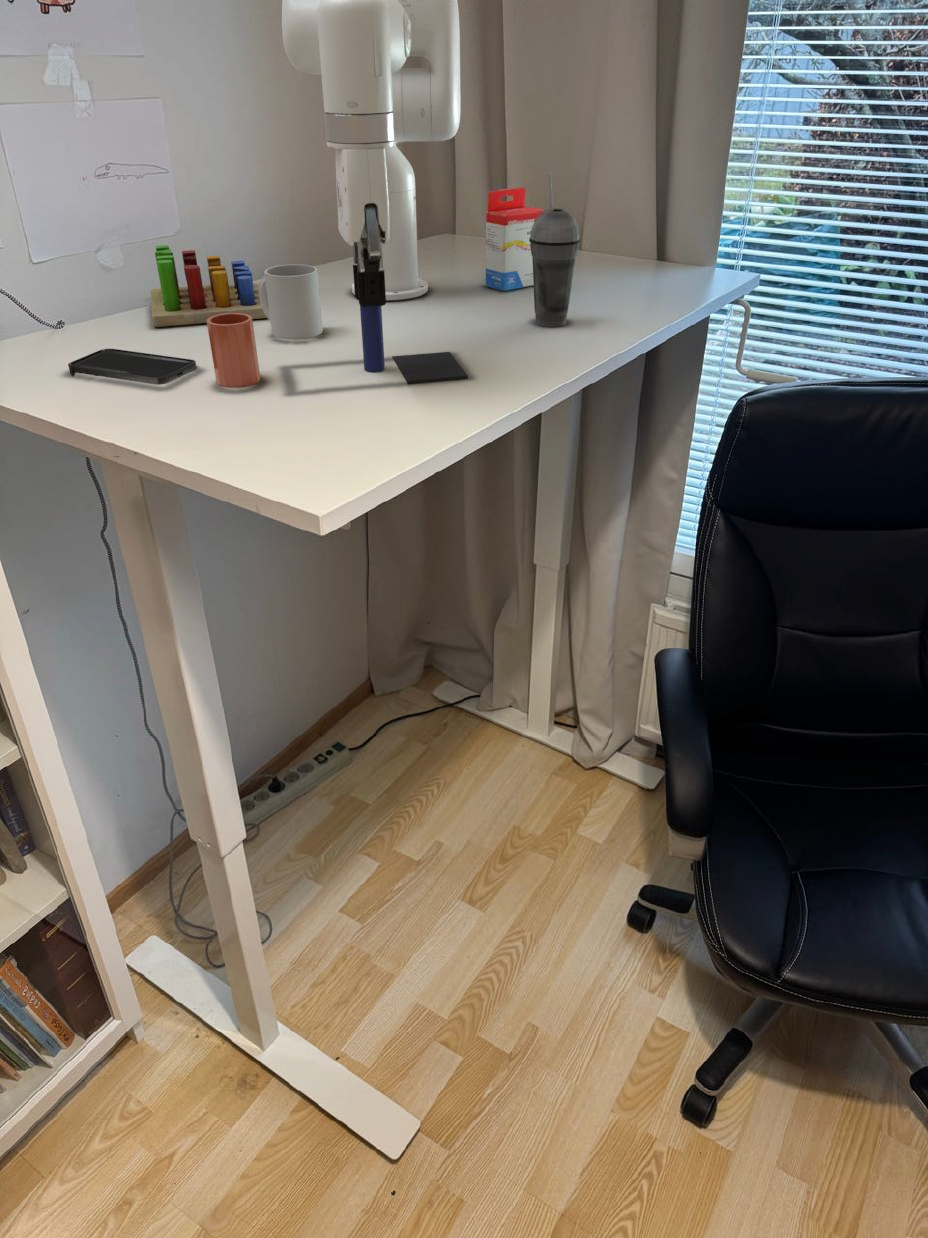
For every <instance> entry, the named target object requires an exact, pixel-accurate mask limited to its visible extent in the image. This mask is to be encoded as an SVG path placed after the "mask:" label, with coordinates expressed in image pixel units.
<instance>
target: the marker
mask: <svg viewBox="0 0 928 1238" xmlns="http://www.w3.org/2000/svg"><path fill="white" fill-rule="evenodd" d="M356 265H357V269H358V271H359V260H358V257H357V264H356ZM359 313H360V326H361V341H362V357H363V370H364V371H365V372H367V373H372V374H373V373H374V374H375V373H382V372H384V371H385V369H386V368H385V349H384V347H385V345H384V331H383V328H384V327H383V311H382V306H370V307H361V306H360V305H359Z"/></svg>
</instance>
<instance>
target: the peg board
mask: <svg viewBox="0 0 928 1238" xmlns="http://www.w3.org/2000/svg"><path fill="white" fill-rule="evenodd" d="M154 257H155V261H156V267H157V274H158V277H159V284H160V288H153V289H151V290H150V300H151V301H150V305H151V308H150V309H151V318H152V324H153V326H154V327H157V328H161V327H170V326H171V327H172V326H182V325H183V326H185V325H197V324H207V319H208V318H210V317H212V316H215V315H219V314H225V313H243V314H248V315H250V316H252V320H255V319H256V320H257V319H268V318H267V317H266V315H265V314H264V311H263V309H262V306H261V302H260V296H259V286H260V282H261V281H253V274H252V271H250V266H249V265H246V264H245V261H244V260H232V261H230V262H231V270H232V276H233V283H231V282H230V283H229V277H228V272H227V268H226V266H225V265H222V261H221V256H220V255H207V256H206V261H207V270H208V277H209V284H205V285H203V280H202V273H201V268H200V265H198V261H197V255H196V250H195V249H194V250H192V249H190V250H182V251H181V257H182V262H183V270H184V276H185V281H186V286H179V280H178V274H177V268H176V261H175V256H174V253H173V251H172V249H170V246H169V244H163V245H161V244H160V245H156V246H155V251H154Z"/></svg>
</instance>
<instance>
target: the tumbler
mask: <svg viewBox="0 0 928 1238" xmlns="http://www.w3.org/2000/svg"><path fill="white" fill-rule="evenodd" d="M253 321H254V319H252V316H250V315H248V314H243V313H225V314H219V315H215V316H212V317H210V318H208V319H207V323H206V326H207V333H208V339H209V345H210V350H211V356H212V363H213V369H214V375H215V381H216V384H217V385H219V387H220V386H221V387H224V388H231V389H232V388H237V389H238V388H246V387H249V386H253V385H256V384H258V383H259V382H260V381H261V371H260V365H259V358H258V350H257V349H258V348H257V343H256V337H255V327H254V322H253Z"/></svg>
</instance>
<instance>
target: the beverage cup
mask: <svg viewBox="0 0 928 1238" xmlns="http://www.w3.org/2000/svg"><path fill="white" fill-rule="evenodd" d="M547 191H548V207H549V208H548V209H546V210H545V211H543V213H542V214H541V215H540V216H538V218H537V219H536V220H535V222H534V224H533V227H532V230H531V236H530V239H529V242H530V247H531V254H532V258H533V282H534V285H533V304H534V306H533V307H534V317H535V325H537V326H540V327H545V328H558V327H562V326H565V325H566V324H567V317H568V313H569V307H570V299H571V293H572V287H573V286H572V285H573V278H574V271H575V265H576V258H577V256H578V252H579V248H580V243H581V238H580V237H581V236H580V229H579V225H578V222H577V220H576V218H575V217H574V215H572V214H571V213H570V212H569V211H567V210H565V209H563V208H554V199H553V182H552V173H551V172H549V173H547Z"/></svg>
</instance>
